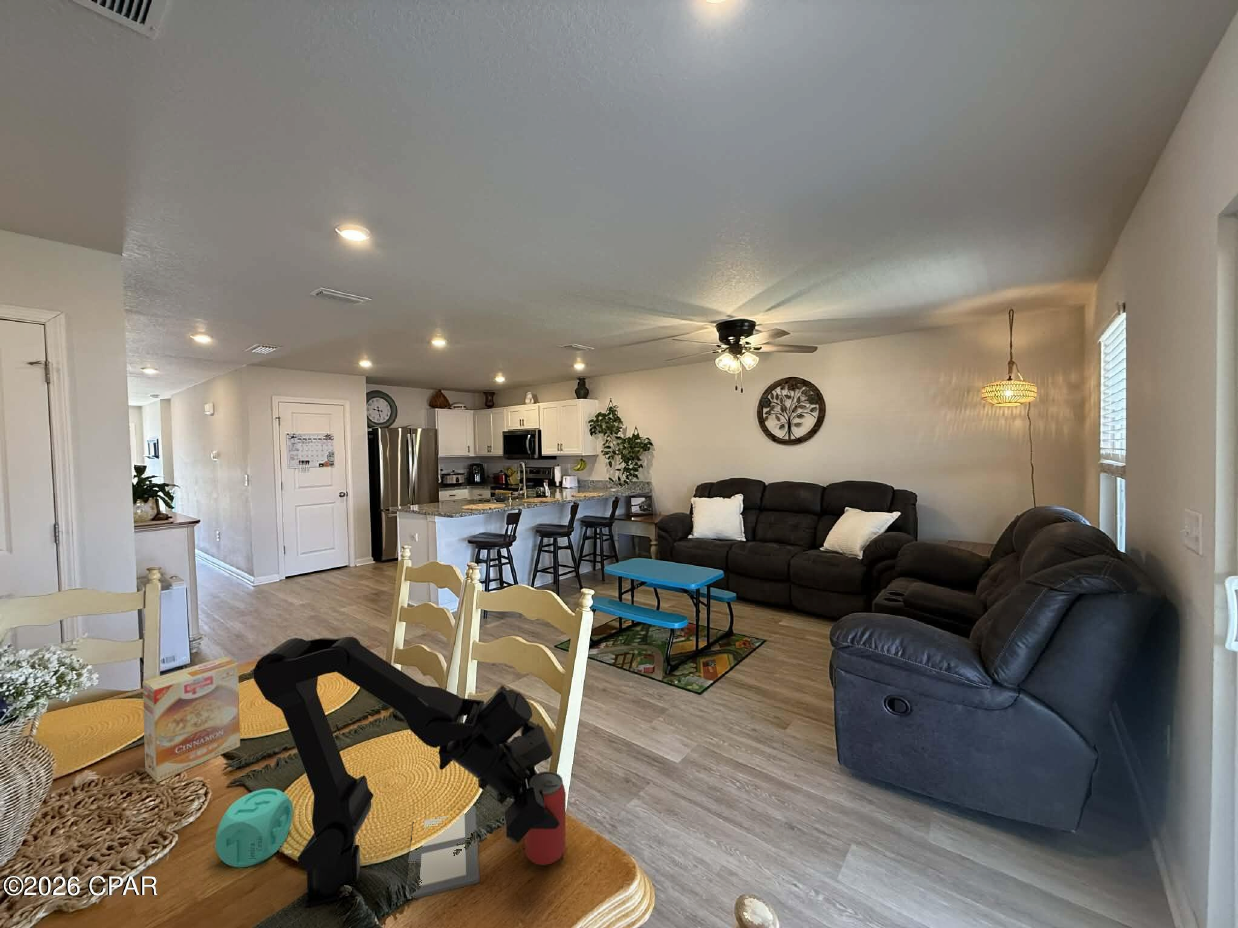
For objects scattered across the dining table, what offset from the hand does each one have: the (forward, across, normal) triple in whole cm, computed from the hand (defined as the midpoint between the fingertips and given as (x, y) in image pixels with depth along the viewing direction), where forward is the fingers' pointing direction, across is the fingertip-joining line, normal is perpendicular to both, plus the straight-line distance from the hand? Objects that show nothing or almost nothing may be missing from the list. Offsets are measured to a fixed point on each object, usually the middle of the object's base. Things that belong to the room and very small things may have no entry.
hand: (553, 810), depth 85 cm
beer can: (+4, 0, +6) cm, 7 cm away
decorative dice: (-28, +17, +40) cm, 52 cm away
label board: (-7, +7, +18) cm, 21 cm away
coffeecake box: (-43, +50, +56) cm, 87 cm away
